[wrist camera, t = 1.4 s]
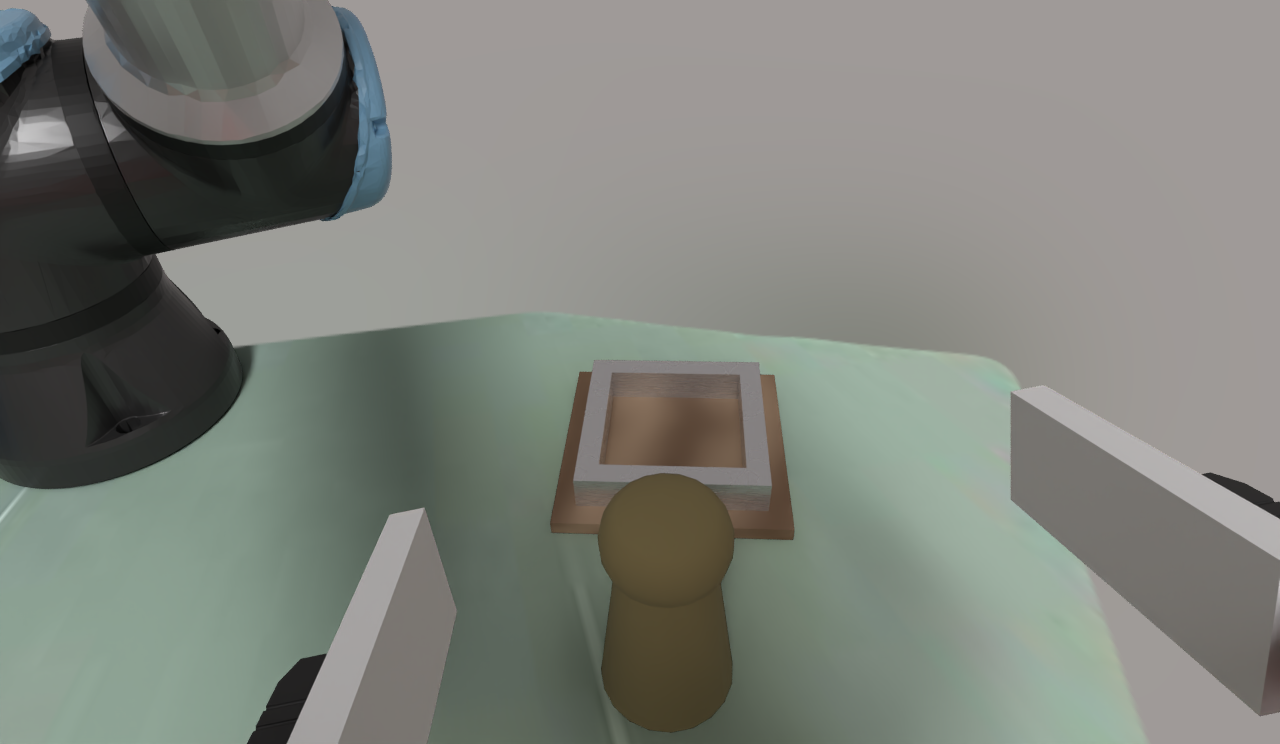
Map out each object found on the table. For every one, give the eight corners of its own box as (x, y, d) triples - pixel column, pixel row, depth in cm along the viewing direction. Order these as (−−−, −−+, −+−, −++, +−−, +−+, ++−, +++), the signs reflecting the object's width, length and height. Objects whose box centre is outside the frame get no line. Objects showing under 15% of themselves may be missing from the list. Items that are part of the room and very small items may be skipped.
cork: (601, 611, 36) (585, 452, 30) (724, 606, 36) (736, 446, 30) (600, 735, 32) (581, 580, 25) (741, 729, 32) (761, 572, 25)
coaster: (551, 532, 40) (546, 497, 39) (580, 380, 50) (577, 347, 49) (792, 539, 39) (798, 504, 38) (773, 384, 50) (776, 350, 48)
